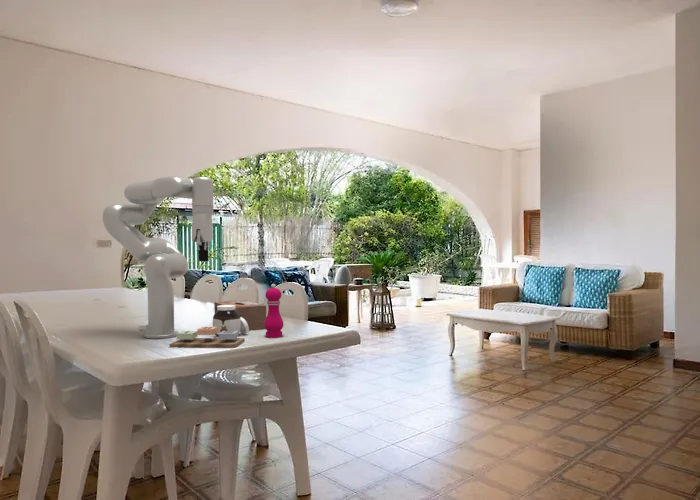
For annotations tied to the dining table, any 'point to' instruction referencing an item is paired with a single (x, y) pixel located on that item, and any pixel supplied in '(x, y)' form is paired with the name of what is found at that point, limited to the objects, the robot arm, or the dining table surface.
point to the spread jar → (229, 320)
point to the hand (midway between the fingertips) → (203, 261)
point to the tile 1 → (187, 335)
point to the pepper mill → (273, 313)
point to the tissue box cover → (248, 312)
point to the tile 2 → (207, 330)
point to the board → (207, 343)
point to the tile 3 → (229, 335)
